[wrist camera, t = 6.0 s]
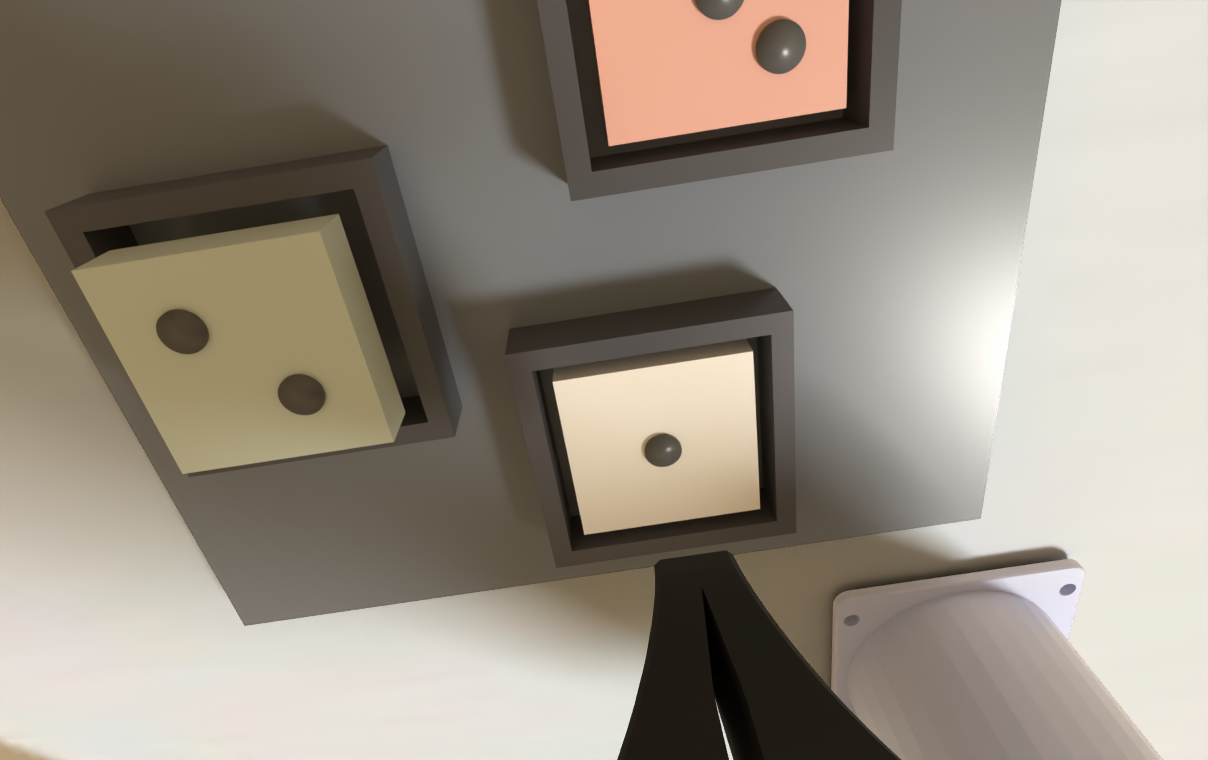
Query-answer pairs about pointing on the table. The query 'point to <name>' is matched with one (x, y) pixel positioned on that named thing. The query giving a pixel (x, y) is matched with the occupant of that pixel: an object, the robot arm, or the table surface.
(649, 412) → the key one
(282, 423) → the key two
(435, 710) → the table surface
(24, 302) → the table surface
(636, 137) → the key three
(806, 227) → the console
